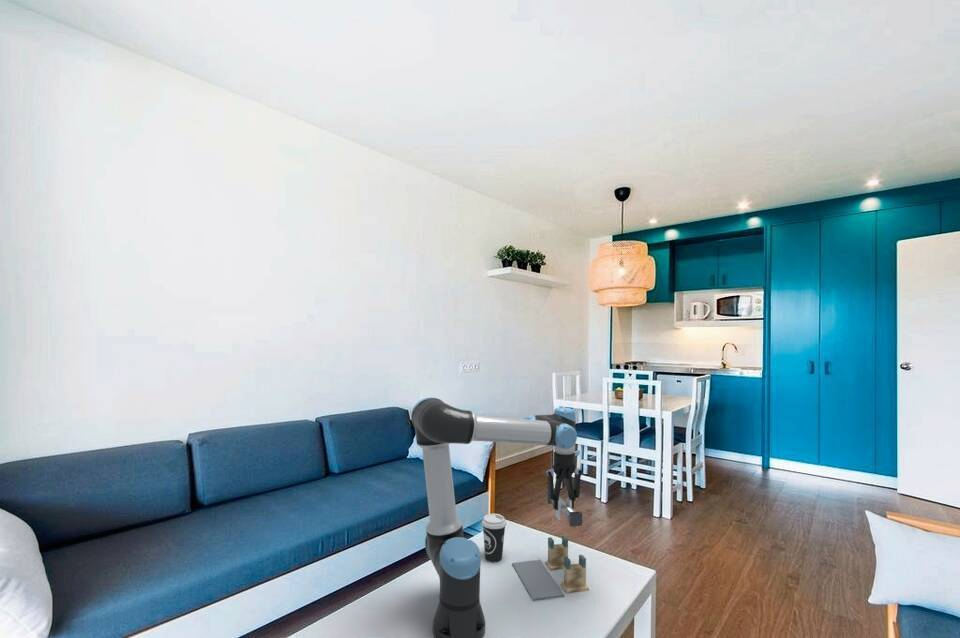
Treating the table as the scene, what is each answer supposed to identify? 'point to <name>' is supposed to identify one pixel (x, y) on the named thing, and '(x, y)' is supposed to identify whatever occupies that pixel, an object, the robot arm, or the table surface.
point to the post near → (574, 575)
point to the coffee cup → (493, 536)
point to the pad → (537, 580)
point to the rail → (568, 513)
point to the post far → (557, 553)
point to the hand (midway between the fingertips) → (563, 518)
